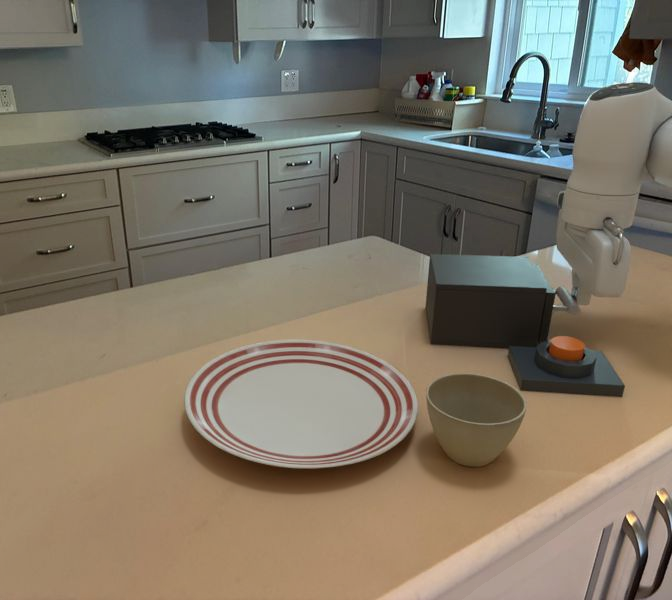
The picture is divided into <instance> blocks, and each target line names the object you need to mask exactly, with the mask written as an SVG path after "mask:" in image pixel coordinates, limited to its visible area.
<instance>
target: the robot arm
mask: <svg viewBox="0 0 672 600" xmlns="http://www.w3.org/2000/svg"><path fill="white" fill-rule="evenodd" d="M571 154H572V155H571V156H572V162H573V163H572V170H571V173H570V175H569V177H568V179H567V182H566V187H565V190H561V191H559V193H558V194H557V200H556V205H557V207H558V208H559V210H558V216H557V223H556V233H555V234H556V235H555V244H556V250H557V251H558V252H559V254H560V255H561V256H562V257H563V259H564V260H565V261H566V262H567V264H568V265H569V266H570V268H571V286H572V287H571V293H570V294H571V296H572V297H573V299H574V300H575V302H576V303H577V304H578V306H589V304H590V303H591V298H592V296H594V297H596V298H615V299H617V298H621V297H622V295H623V294H624V292H625V291H626V287H627V281H628V275H629V271H630V269H629V268H630V262H631V253H632V249H631V243H630V241H629V240H628V238H626V237H625V236H624V235H623V234H624V233H625V231H624V229H628V228H630V227H631V226H632V225H633V223H634V218H635V213H636V209H637V203H638V201H639V196H640V191H641V187H642V184H643V183H644V182H646V181H653V182H656V183H658V184H661V185H662V186H665V187H667V188H670V189H672V100H671V99H670V98H667V97H666V96H665V95H663V94H662V93H661V92H659V91H658V89H657V87H656V86H655V85H654V84H651V83H648V82H642V81H641V82H640V81H638V82H636V81H633V82H626V83H625V82H622V83H621V82H620V83H614V84H610V85H606V86H604V87H600V88H599V89H597V90H595V91H594V92H592V93H591V94H590V95H589V97H588V98H587V100H586V101H585V104H584V106H583V108H582V111H581V114H580V118H579V120H578V123H577V128H576V132H575V138H574V142H573V148H572V153H571Z"/></svg>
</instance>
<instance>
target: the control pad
mask: <svg viewBox="0 0 672 600" xmlns="http://www.w3.org/2000/svg"><path fill="white" fill-rule="evenodd" d="M550 342H551V339H550V340H547V341H545V342H541V343H538V344H537V347H522V346H509V349H507V350H508V351H507V359H508V362H509V364H510V367H511V369H512V372H513V374H514V377H515V380H516V382H517V385H518V388H519V391H520V392H521V391H524V392H539V393H554V394H569V395H582V396H583V395H584V396H599V397H612V398H613V397H614V398H615V397H616V398H623V395H624V392H625V388H626V385H625V383H624V382H623V380H622V379H621V377H620V376H619V374H618V372H616V370H615V368H614V367H613V365H612V364H611V363H610V361H609V360H608V358H607V357H606V355H605V354H604V352H603V350H594V349H590V348H588V347H587V346H585V348H584V353H583V358H582V360H579V361H565V360H561V359H558V358H555V357H553V356H551V355H550V354H549V347H550Z"/></svg>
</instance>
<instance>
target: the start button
mask: <svg viewBox="0 0 672 600" xmlns="http://www.w3.org/2000/svg"><path fill="white" fill-rule="evenodd" d="M550 340H551V342H550V347H549V354H550V355H551V356H553V357H555V358H558V359H561V360H565V361H579V360H582V358H583V353H584V348H585V347H586V345H585V343H584V341H582V340H580V339H577V338H576V337H572V336H567V335H558V336H554V337H552V338H551V339H550Z"/></svg>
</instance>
